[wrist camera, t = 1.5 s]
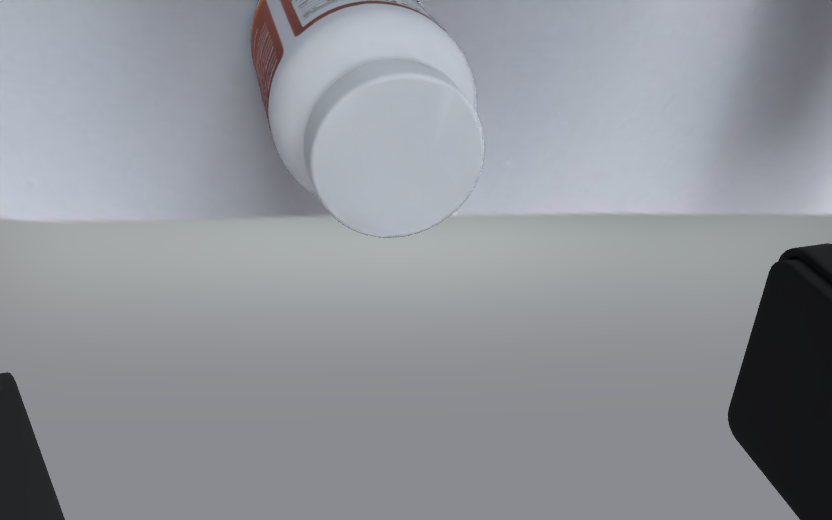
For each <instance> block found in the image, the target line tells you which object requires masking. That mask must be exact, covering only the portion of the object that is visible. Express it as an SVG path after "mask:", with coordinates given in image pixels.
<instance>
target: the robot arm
mask: <svg viewBox="0 0 832 520" xmlns="http://www.w3.org/2000/svg"><path fill="white" fill-rule="evenodd" d="M728 421H729V426H730V429H731V431H732V434H733V435H734V437H735V438H736V440H737V441H738V442H739V443H740V445H741V446H742V447H743V448H744V449H745V451H746V452H747V453H748V455H749V456H750V457H751V458H752V460H753V461H754V462H755V463H756V465H757V466H758V467H759V468H760V470H761V471H762V472H763V473H764V475H765V476H766V477H767V479H768V480H769V481H770V482H771V484H772V485H773V486H774V487H775V489H776V490H777V491H778V492H779V494H780V495H781V496H782V497H783V498H784V500H785V501H786V502H787V504H788V505H789V506H790V507H791V509H792V510H793V511H794V512H795V514H796V515H797V516H798V517H799V519H800V520H832V244H820V245H814V246H806V247H799V248H792V249H789V250H787V251H785V252H784V253H783V254H782V255H781V257H780V259H779V261H778V262H776V263H775V264H774V265H773V266H772V267H771V269H770V271H769V275H768V278H767V281H766V285H765V288H764V291H763V295H762V298H761V301H760V305H759V308H758V312H757V315H756V318H755V322H754V325H753V328H752V332H751V335H750V339H749V342H748V346H747V349H746V352H745V356H744V359H743V363H742V366H741V369H740V373H739V376H738V380H737V383H736V386H735V390H734V393H733V396H732V400H731V403H730V407H729V412H728ZM0 520H65V519H64V516H63V513H62V510H61V508H60V505H59V502H58V499H57V496H56V494H55V491H54V488H53V485H52V483H51V480H50V477H49V474H48V471H47V468H46V466H45V463H44V460H43V457H42V454H41V452H40V449H39V446H38V443H37V441H36V438H35V435H34V432H33V429H32V426H31V424H30V421H29V418H28V415H27V412H26V409H25V407H24V404H23V401H22V398H21V396H20V393H19V390H18V387H17V384H16V382H15V380H14V378H13V376H12V375H11V374H10V373H0Z"/></svg>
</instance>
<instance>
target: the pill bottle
mask: <svg viewBox="0 0 832 520" xmlns="http://www.w3.org/2000/svg"><path fill="white" fill-rule="evenodd" d="M251 52H252V58H253V63H254V67H255V70H256V74H257V78H258V82H259V86H260V90H261V95H262V100H263V103H264V107H265V110H266V115H267V119H268V123H269V128H270V131H271V134H272V138H273V140H274V143H275V146H276V148H277V151H278V153H279V155H280V157H281V160H282V161H283V163H284V164H285V166H286V168H287V169H288V170H289V172H290V173H291V174H292V176H293V177H294V178H295V179H296V180H297V181H298V182H299V183H300V184H301V185H302V186H303V187H304V188H305V189H306V190H308V191H309V192H311V193H312V194H313V195H315V196H317V197H318V198H319V199H320V201H321V203H322V204H323V206H324V207H325V208H326V209H327V211H328V212H329V213H330V214H331V215H332V216H333V217H334V218H335V219H337V220H338V221H339V222H340V223H342V224H343V225H345V226H347V227H348V228H350V229H352V230H354V231H356V232H359V233H362V234H365V235H370V236H375V237H383V238H390V237H403V236H409V235H412V234H416V233H419V232H422V231H424V230H427V229H429V228H431V227H433V226H435V225H437V224H439V223H441V222H442V221H443V220H445V219H446V218H448V217H449V216H450V215H452V214H453V213H454V212H455V211H456V210H457V209H458V208H459V207H460V206H461V205H462V204H463V203H464V201H465V200H466V199H467V198H468V196H469V195H470V193H471V191H472V190H473V188H474V186H475V184H476V182H477V180H478V178H479V175H480V172H481V169H482V165H483V160H484V149H485V144H484V135H483V130H482V126H481V123H480V120H479V118H478V115H477V94H476V87H475V82H474V78H473V75H472V72H471V69H470V66H469V64H468V62H467V60H466V58H465V56H464V54H463V53H462V51H461V50H460V48H459V47H458V46H457V44H456V43H455V42H454V41H453V39H452V38H451V37H450V36H449V35H448V33H447V32H446V31H445V30H444V29H443V28H442V27H441V26H440V25H439V24H438V23H437V22H436V21H435V20H434V19H433V18H432V17H431V16H430V15H429V14H428V13H427V12H426V10H425V9H424V8H423V7H422V6H421V5H420V4H419V3H418V2H417V1H416V0H259V2H258V4H257V7H256V9H255V13H254V16H253V21H252V28H251Z"/></svg>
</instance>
